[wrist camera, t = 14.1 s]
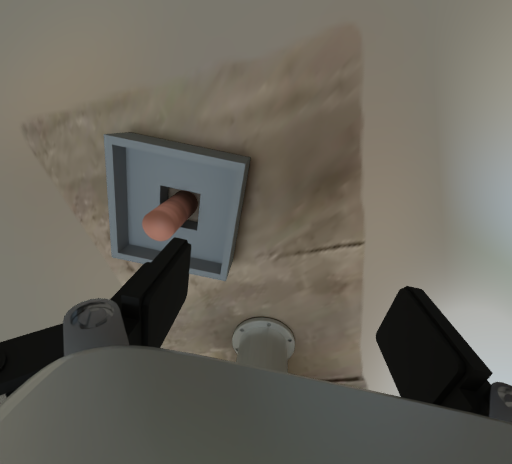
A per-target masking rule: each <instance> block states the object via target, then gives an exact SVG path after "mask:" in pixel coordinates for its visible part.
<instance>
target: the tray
mask: <svg viewBox="0 0 512 464" xmlns="http://www.w3.org/2000/svg"><path fill="white" fill-rule="evenodd" d="M104 146H105V161H106V177H107V192H108V207H109V222H110V238H111V253H112V257H113V258H118V259H123V260H128V261H132V262H137V263H142V264H145V263H146V262H152V261H153V260H154V258H155V257H156V256H157V255H158V254H159V253H160V252H161V251H162V250H163V249H164V247H165V246H166V245H167V244H168V243H169V242H170V241H171V240H172V239H173V238H174V237H176V238H181V239H186V240H187V241H188V243H189V244H191V258H190V269H189V274H194V275H199V276H203V277H208V278H213V279H218V280H222V281H226V279H227V276H228V273H229V270H230V267H231V265H232V262H233V256H234V250H235V245H236V239H237V233H238V227H239V222H240V216H241V210H242V204H243V199H244V193H245V187H246V181H247V176H248V170H249V164H250V159H251V157H246V156H241V155H236V154H232V153H227V152H222V151H217V150H213V149H208V148H203V147H198V146H193V145H189V144H184V143H179V142H174V141H169V140H165V139H160V138H155V137H150V136H146V135H141V134H136V133H131V132H127V133H115V134H104ZM168 187H171V188H176V189H180V190H185V191H190V192H195V193H199V194H201V196H200V206H199V216H198V222H194V221H189V220H186V221H185V222H184V224H183V225H182V226H181V227H180V228H179V229H178V230H177V231H176V232H175V233H174V234H173V235H172V236H171V237H170V238H169V239H168V240H165V241H156V240H154V239H152V238H150V237H149V236H148V235H147V234H146V233H145V231H144V229H143V226H142V221H143V218H144V216H145V215H146V214H148V213H149V212H150V211H152V210H153V209H155V208H156V207H158V206H159V205H160V204H162V203H163V202H165V201H166V200H168Z"/></svg>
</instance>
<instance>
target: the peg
mask: <svg viewBox="0 0 512 464" xmlns="http://www.w3.org/2000/svg"><path fill="white" fill-rule="evenodd" d="M197 207H198V202H197V199H196V197H195V196H194V195H193V194H192V193H191V192H189V191H179V192H178V193H176V194H175V195H173V196H172V197H170V198H169V199H168V200H166V201H165V202H163V203H162V204H160V205H159V206H158V207H156V208H155V209H153V210H152V211H150V212H149V213H148V214H146V215H145V216H144V218H143V221H142V226H143V229H144V231H145V233H146V234H147V235H148V236H149V237H150V238H152V239H154V240H156V241H165V240H168V239H169V238H170V237H171V236H172V235H173V234H174V233H175V232H176V231H177V230H178V229H179V228H180V227H181V226H182V225H183V224H184V222H185V221H186V220H187V219H188V218H189V217H190V216H191V215H192V214H193V213H194V212H195V211H196V209H197Z"/></svg>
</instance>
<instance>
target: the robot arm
mask: <svg viewBox="0 0 512 464" xmlns="http://www.w3.org/2000/svg"><path fill="white" fill-rule="evenodd" d="M190 258H191V244H189V243H188V241H187V240H186V239H181V238H176V237H174V238H173V239H172V240H171V241H170V242H169V243H168V244H167V245H166V246H165V247H164V249H163V250H162V251H161V252H160V253H159V254H158V255H157V256H156V257H155V258H154V260H153V261H152V262H146V263H145V264H143V265H142V266H141V268H140V269H139V270H138V271H137V272H136V273H135V274H134V275H133V276H132V277H131V278H130V279H129V280H128V281H127V282H126V283H125V284H124V285H123V286H122V288H121V289H120V290H119V291H118V292H117V293H116V294H115V295H114V296H113V297H112V298H111V299H110V300H108V299H101V298H100V299H99V298H98V299H90V300H87V301H84V302H81V303H79V304H77V305H75V306H74V307H72V308H71V309H70V310H69V311H68V312H67V313H66V315H65V316H64V320H63V324H60V325H56V326H53V327H50V328H46V329H43V330H40V331H37V332H33V333H30V334H26V335H23V336H20V337H17V338H13V339H10V340H7V341H3V342H0V464H512V386H511V385H508V384H505V383H502V382H495V383H493V384H492V385H491V384H490V383H489V382H488V381H487V379H488V378H489V377H490V376H491V375H492V372H491V371H490V370H489V369H488V367H487V366H486V365H485V364H484V362H483V361H482V360H481V359H480V358H479V357H478V355H477V354H476V353H475V352H474V351H473V350H472V348H471V347H470V346H469V345H468V343H467V342H466V341H465V340H464V339H463V337H462V336H461V335H460V334H459V333H458V332H457V330H456V329H455V328H454V327H453V326H452V324H451V323H450V322H449V321H448V320H447V318H446V317H445V316H444V315H443V314H442V313H441V311H440V310H439V309H438V308H437V306H436V305H435V304H434V303H433V302H432V301H431V299H430V298H429V297H428V296H427V295H426V293H425V292H424V291H423V290H422V289H419V288H414V287H409V286H406V287H404V288H402V289H400V290H399V292H398V294H397V296H396V297H395V299H394V301H393V303H392V305H391V307H390V309H389V311H388V312H387V314H386V316H385V318H384V320H383V322H382V324H381V325H380V327H379V329H378V331H377V333H376V341H377V343H378V346H379V348H380V350H381V352H382V355H383V357H384V359H385V361H386V363H387V366H388V368H389V371H390V373H391V375H392V378H393V380H394V382H395V384H396V387H397V389H398V391H399V394H400V396H401V397H398V396H393V395H388V394H384V393H380V392H375V391H371V390H366V389H361V388H356V387H352V386H347V385H342V384H338V383H333V382H328V381H324V380H319V379H314V378H309V377H305V376H300V375H295V374H290V373H288V359H289V358H290V357H291V356H292V354H293V352H294V349H295V340H294V336H293V334H292V332H291V331H290V329H289V328H288V327H287V326H286V325H284V324H283V323H281V322H279V321H277V320H274V319H270V318H263V317H261V318H252V319H249V320H246V321H244V322H243V323H241V324H240V325H239V326H238V327H237V328H236V329H235V331H234V334H233V338H232V345H233V348H234V350H235V352H236V353H237V359H236V362H232V361H227V360H222V359H217V358H212V357H207V356H202V355H197V354H192V353H187V352H181V351H175V350H169V349H163V348H160V347H161V345H162V343H163V341H164V339H165V337H166V336H167V334H168V332H169V330H170V328H171V326H172V324H173V322H174V320H175V319H176V317H177V315H178V313H179V311H180V309H181V307H182V305H183V303H184V302H185V299H186V296H187V291H188V280H189V269H190Z"/></svg>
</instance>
